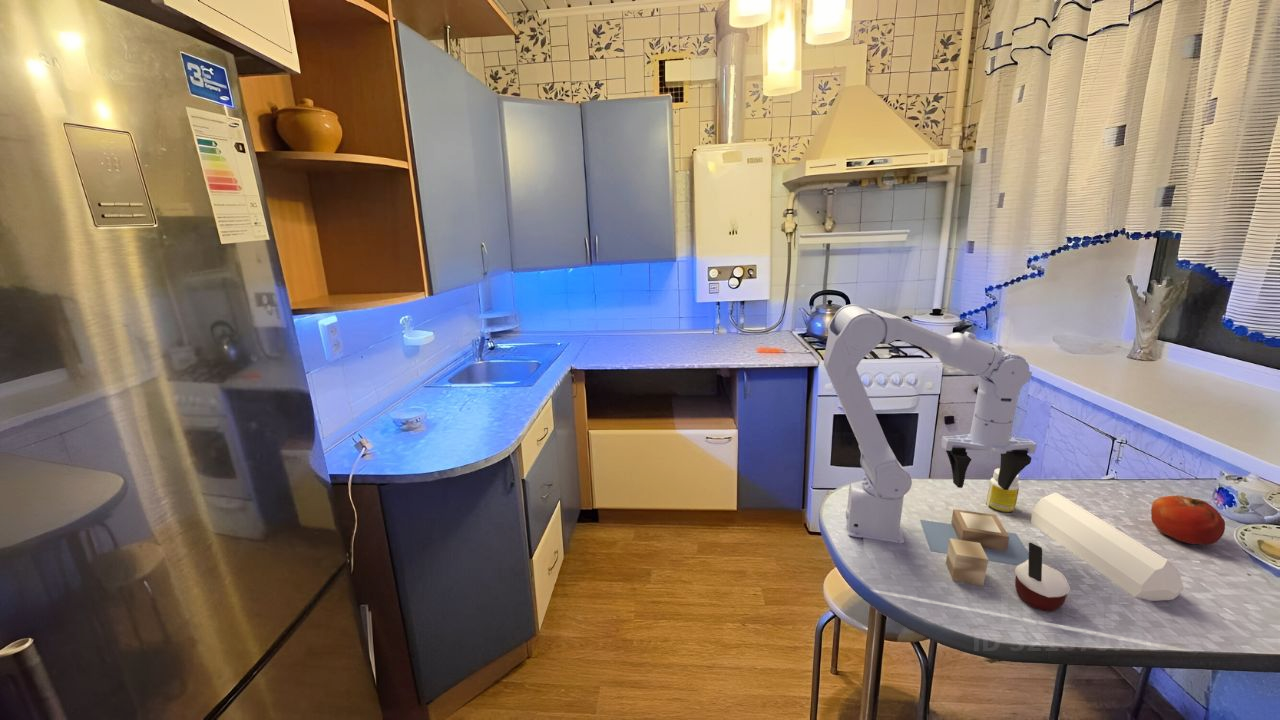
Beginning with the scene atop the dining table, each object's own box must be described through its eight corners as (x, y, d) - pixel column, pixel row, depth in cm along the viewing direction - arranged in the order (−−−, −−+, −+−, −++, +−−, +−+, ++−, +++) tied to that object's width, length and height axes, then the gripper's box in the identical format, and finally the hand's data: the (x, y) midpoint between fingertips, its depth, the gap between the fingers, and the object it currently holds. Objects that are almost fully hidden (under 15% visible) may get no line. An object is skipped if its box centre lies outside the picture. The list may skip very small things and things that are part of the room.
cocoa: (1043, 587, 80) (1058, 521, 77) (1081, 616, 74) (1099, 545, 71) (990, 592, 79) (1003, 524, 76) (1023, 621, 73) (1039, 549, 70)
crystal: (1213, 585, 74) (1070, 499, 97) (1180, 568, 73) (1043, 484, 96) (1178, 622, 76) (1045, 528, 99) (1145, 605, 74) (1019, 514, 97)
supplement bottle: (1018, 517, 98) (1026, 479, 96) (992, 515, 99) (999, 477, 97) (1006, 504, 102) (1013, 467, 100) (981, 502, 103) (987, 466, 101)
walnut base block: (960, 544, 90) (963, 529, 89) (951, 522, 96) (953, 508, 95) (1006, 551, 88) (1009, 536, 87) (993, 528, 94) (996, 514, 93)
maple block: (951, 582, 81) (956, 554, 80) (945, 565, 85) (949, 538, 84) (982, 588, 80) (988, 559, 78) (974, 570, 84) (979, 542, 82)
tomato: (1140, 516, 97) (1150, 480, 95) (1208, 531, 92) (1220, 493, 90) (1152, 542, 90) (1163, 503, 87) (1227, 559, 85) (1241, 519, 82)
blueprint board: (930, 553, 88) (930, 550, 88) (919, 521, 98) (919, 519, 97) (1037, 570, 83) (1038, 568, 83) (1015, 535, 92) (1016, 533, 92)
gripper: (959, 424, 84) (947, 495, 88) (1053, 427, 82) (1037, 500, 86) (940, 409, 91) (930, 475, 94) (1027, 411, 89) (1013, 479, 92)
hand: (980, 486), depth 90 cm, fingers open, 7 cm apart
